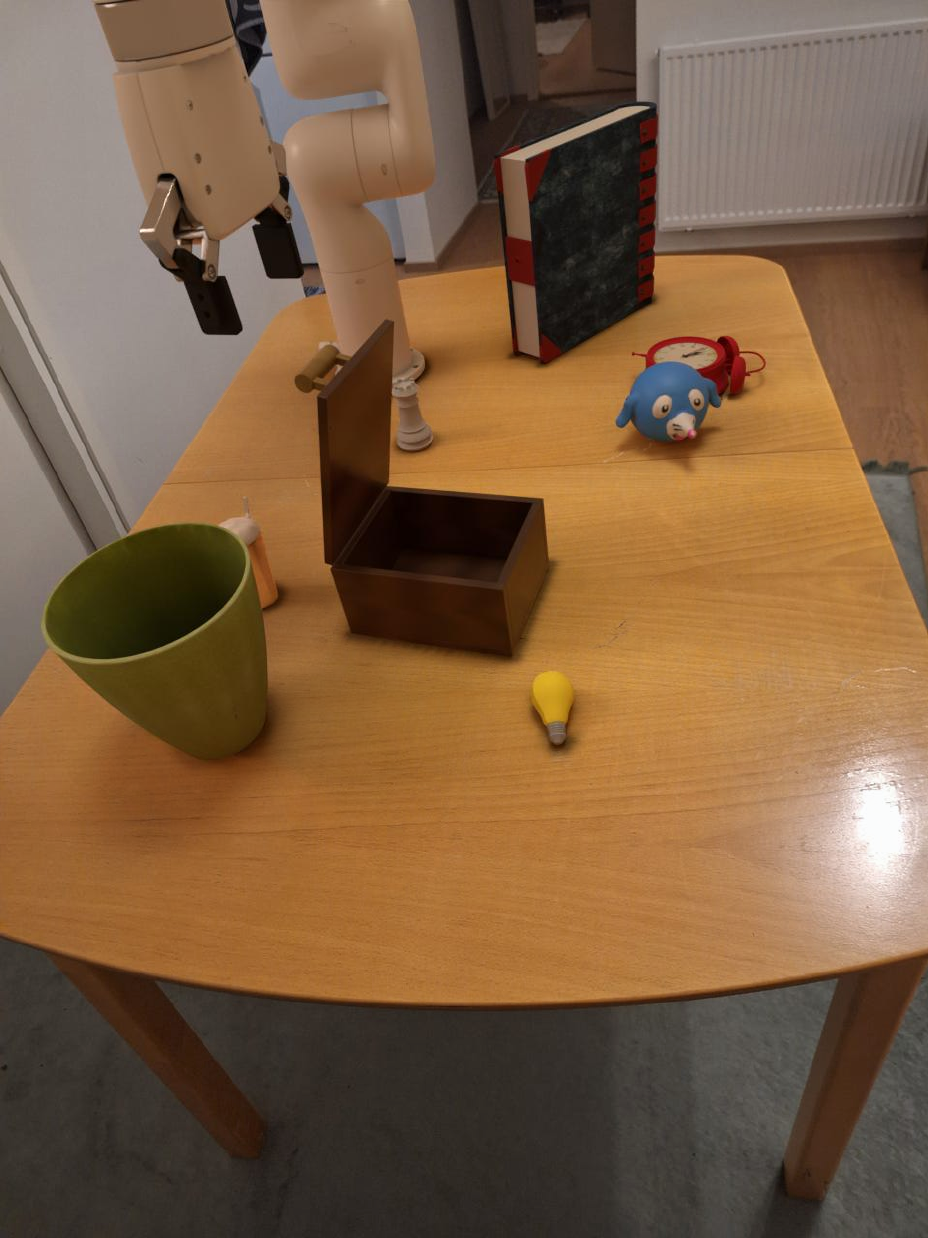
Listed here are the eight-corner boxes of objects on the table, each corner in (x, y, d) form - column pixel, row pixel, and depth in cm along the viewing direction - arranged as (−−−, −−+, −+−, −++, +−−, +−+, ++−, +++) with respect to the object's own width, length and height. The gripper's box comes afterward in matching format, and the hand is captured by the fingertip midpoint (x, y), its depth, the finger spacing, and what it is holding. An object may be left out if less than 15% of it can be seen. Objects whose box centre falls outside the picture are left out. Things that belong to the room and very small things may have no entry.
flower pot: (274, 809, 61) (198, 665, 50) (102, 796, 64) (-4, 658, 54) (331, 665, 72) (278, 520, 61) (180, 660, 75) (105, 522, 64)
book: (627, 288, 122) (627, 98, 106) (664, 297, 118) (670, 101, 101) (510, 354, 112) (489, 154, 95) (546, 366, 107) (531, 159, 91)
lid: (394, 320, 65) (342, 307, 66) (326, 398, 57) (267, 381, 57) (389, 482, 77) (345, 469, 78) (332, 566, 69) (283, 550, 69)
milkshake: (296, 580, 81) (266, 499, 74) (271, 616, 78) (237, 534, 71) (258, 575, 83) (225, 495, 76) (231, 610, 79) (194, 529, 72)
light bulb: (563, 683, 66) (576, 663, 63) (572, 752, 63) (586, 734, 60) (523, 682, 66) (534, 662, 63) (531, 751, 62) (543, 733, 60)
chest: (549, 564, 78) (543, 498, 72) (512, 657, 69) (502, 589, 64) (401, 548, 83) (386, 485, 77) (350, 633, 74) (329, 568, 69)
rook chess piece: (440, 435, 98) (429, 374, 93) (423, 454, 95) (411, 393, 90) (408, 431, 100) (395, 371, 95) (391, 450, 97) (377, 389, 92)
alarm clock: (626, 343, 101) (749, 302, 97) (637, 386, 105) (756, 349, 101) (635, 382, 94) (769, 340, 89) (647, 427, 98) (776, 389, 93)
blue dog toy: (636, 483, 85) (637, 411, 80) (604, 428, 94) (603, 360, 88) (746, 460, 86) (754, 387, 80) (704, 407, 94) (709, 339, 89)
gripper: (193, 8, 56) (268, 259, 68) (27, 68, 45) (151, 357, 57) (286, -5, 54) (347, 257, 65) (136, 55, 42) (242, 359, 54)
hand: (256, 303), depth 61 cm, fingers open, 9 cm apart
